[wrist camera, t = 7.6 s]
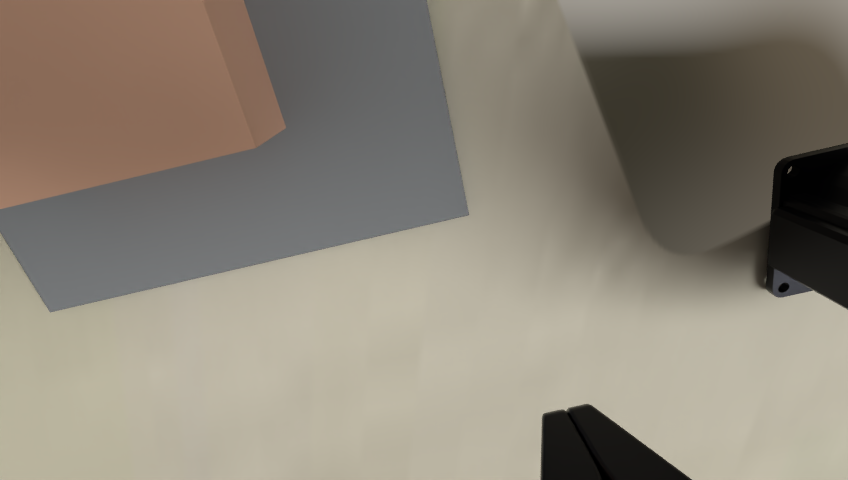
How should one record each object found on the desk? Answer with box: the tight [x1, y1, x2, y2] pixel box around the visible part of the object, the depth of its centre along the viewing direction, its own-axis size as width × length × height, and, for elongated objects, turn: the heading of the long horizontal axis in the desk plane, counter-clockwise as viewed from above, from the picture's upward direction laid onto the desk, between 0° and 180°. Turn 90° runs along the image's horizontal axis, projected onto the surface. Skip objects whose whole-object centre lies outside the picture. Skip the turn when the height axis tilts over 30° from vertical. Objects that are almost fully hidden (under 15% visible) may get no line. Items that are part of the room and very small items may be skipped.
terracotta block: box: [0, 0, 286, 209], centre depth 14 cm, size 4×6×9 cm
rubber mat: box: [0, 0, 469, 312], centre depth 16 cm, size 18×16×1 cm
